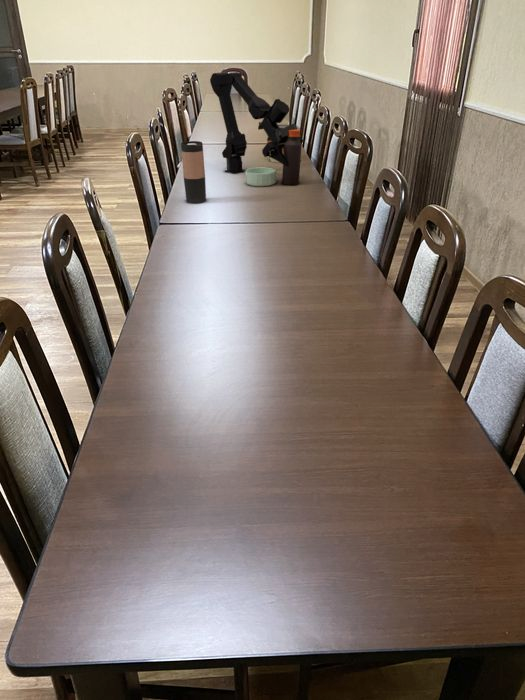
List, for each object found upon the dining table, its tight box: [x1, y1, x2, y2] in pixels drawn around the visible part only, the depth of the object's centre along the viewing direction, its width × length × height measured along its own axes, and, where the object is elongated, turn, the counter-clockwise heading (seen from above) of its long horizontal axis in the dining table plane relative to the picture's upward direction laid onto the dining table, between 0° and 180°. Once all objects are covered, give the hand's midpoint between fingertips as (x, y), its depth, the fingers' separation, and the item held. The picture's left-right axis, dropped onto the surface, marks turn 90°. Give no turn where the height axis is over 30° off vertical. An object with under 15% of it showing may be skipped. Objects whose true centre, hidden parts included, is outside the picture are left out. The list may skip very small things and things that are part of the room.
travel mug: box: [180, 140, 207, 204], centre depth 191 cm, size 8×8×20 cm
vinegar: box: [281, 128, 303, 186], centre depth 210 cm, size 7×7×20 cm
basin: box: [244, 166, 277, 188], centre depth 215 cm, size 12×12×5 cm
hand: (293, 164), depth 211 cm, fingers closed on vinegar, 7 cm apart
